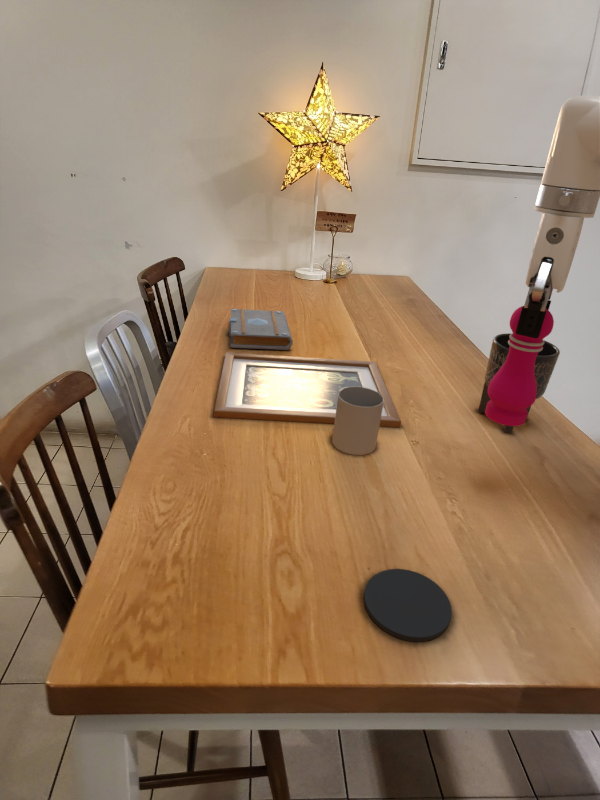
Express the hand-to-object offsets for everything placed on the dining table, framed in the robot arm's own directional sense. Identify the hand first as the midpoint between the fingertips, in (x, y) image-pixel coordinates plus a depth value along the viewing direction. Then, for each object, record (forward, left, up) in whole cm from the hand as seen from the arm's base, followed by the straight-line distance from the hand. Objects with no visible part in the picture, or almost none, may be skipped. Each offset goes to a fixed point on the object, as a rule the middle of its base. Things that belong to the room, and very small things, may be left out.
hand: (530, 328), depth 80 cm
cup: (+17, -18, -29) cm, 38 cm away
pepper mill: (0, 0, -15) cm, 15 cm away
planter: (-20, -21, -29) cm, 42 cm away
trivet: (+26, +20, -29) cm, 44 cm away
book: (+21, -76, -29) cm, 84 cm away
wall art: (+19, -42, -29) cm, 55 cm away
